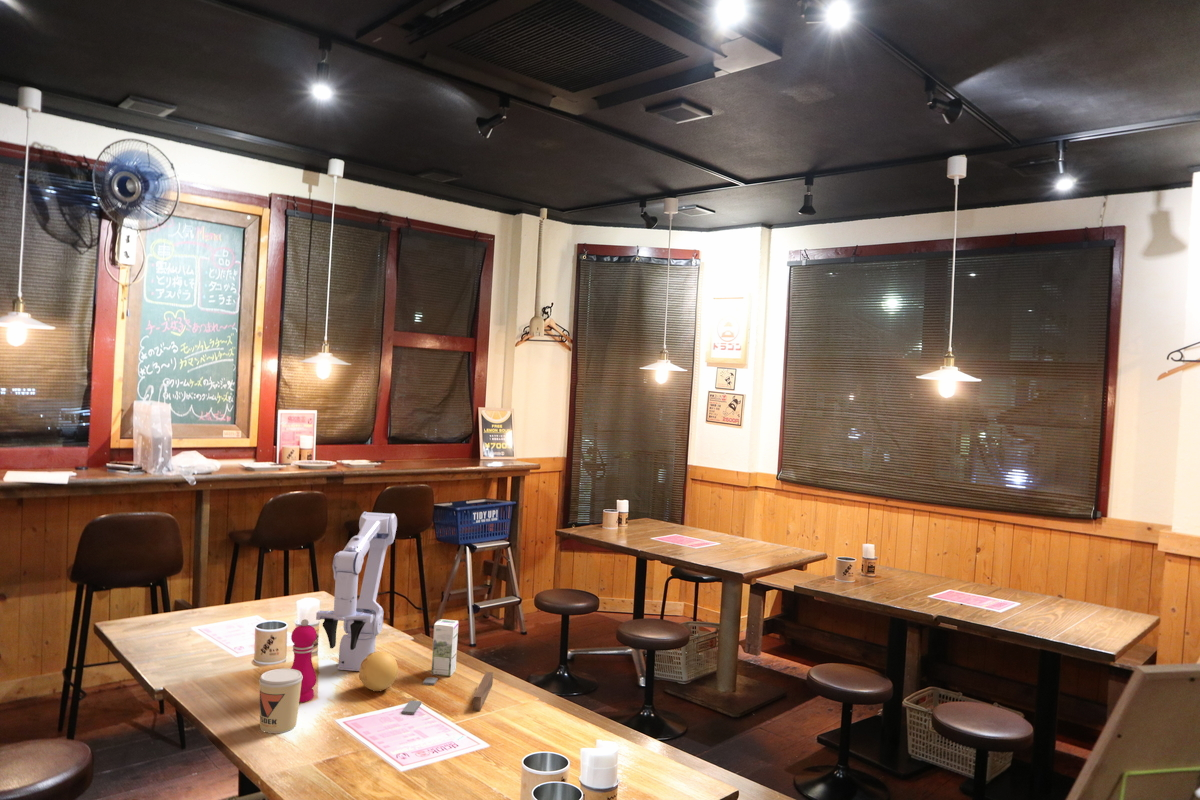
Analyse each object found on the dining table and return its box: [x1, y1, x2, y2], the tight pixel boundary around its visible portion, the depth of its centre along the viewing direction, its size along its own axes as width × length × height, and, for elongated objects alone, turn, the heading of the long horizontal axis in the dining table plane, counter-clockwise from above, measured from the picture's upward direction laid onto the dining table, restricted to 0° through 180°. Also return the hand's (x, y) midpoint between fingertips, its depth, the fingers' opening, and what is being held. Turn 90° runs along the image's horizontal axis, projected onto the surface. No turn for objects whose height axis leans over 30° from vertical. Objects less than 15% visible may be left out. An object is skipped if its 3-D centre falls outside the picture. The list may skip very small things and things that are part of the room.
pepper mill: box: [290, 619, 318, 703], centre depth 198 cm, size 7×7×20 cm
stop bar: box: [471, 671, 494, 712], centre depth 205 cm, size 2×18×4 cm, turn 178°
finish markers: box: [401, 676, 438, 715], centre depth 204 cm, size 3×24×1 cm, turn 178°
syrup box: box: [431, 618, 459, 677], centre depth 222 cm, size 6×6×14 cm
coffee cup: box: [258, 668, 303, 734], centre depth 181 cm, size 9×9×12 cm
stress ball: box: [358, 650, 399, 692], centre depth 206 cm, size 10×10×10 cm
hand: (342, 648), depth 207 cm, fingers open, 5 cm apart
